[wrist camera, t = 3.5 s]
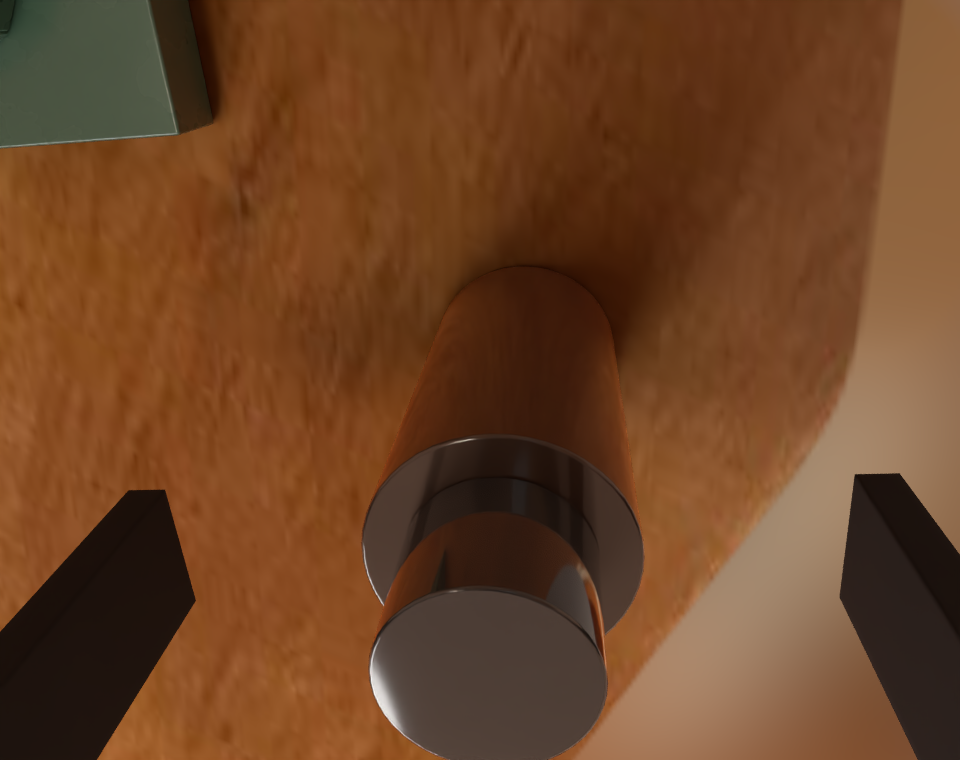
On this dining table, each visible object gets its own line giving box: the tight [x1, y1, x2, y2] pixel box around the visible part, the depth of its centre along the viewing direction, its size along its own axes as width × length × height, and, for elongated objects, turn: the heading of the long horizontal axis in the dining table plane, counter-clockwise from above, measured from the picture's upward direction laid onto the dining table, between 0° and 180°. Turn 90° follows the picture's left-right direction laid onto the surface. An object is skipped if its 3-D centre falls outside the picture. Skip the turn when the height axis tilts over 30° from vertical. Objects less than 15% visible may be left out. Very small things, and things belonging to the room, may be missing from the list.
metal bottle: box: [361, 266, 644, 760], centre depth 18 cm, size 5×5×13 cm
